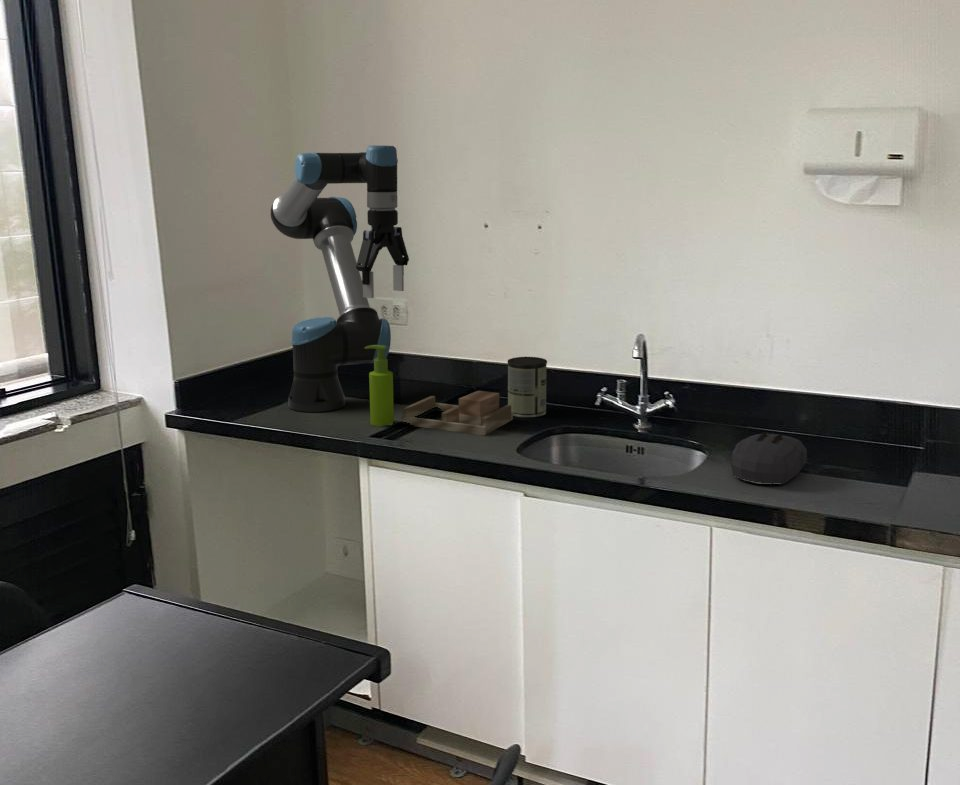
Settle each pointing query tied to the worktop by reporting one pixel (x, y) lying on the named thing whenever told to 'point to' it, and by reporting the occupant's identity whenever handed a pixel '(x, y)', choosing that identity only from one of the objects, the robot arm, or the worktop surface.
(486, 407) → the upper offcut
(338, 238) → the robot arm
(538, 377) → the coffee can
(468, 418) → the lower offcut
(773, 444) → the slotted dark dome
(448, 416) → the rack
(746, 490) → the worktop surface
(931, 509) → the worktop surface
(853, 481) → the worktop surface
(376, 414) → the soap dispenser
